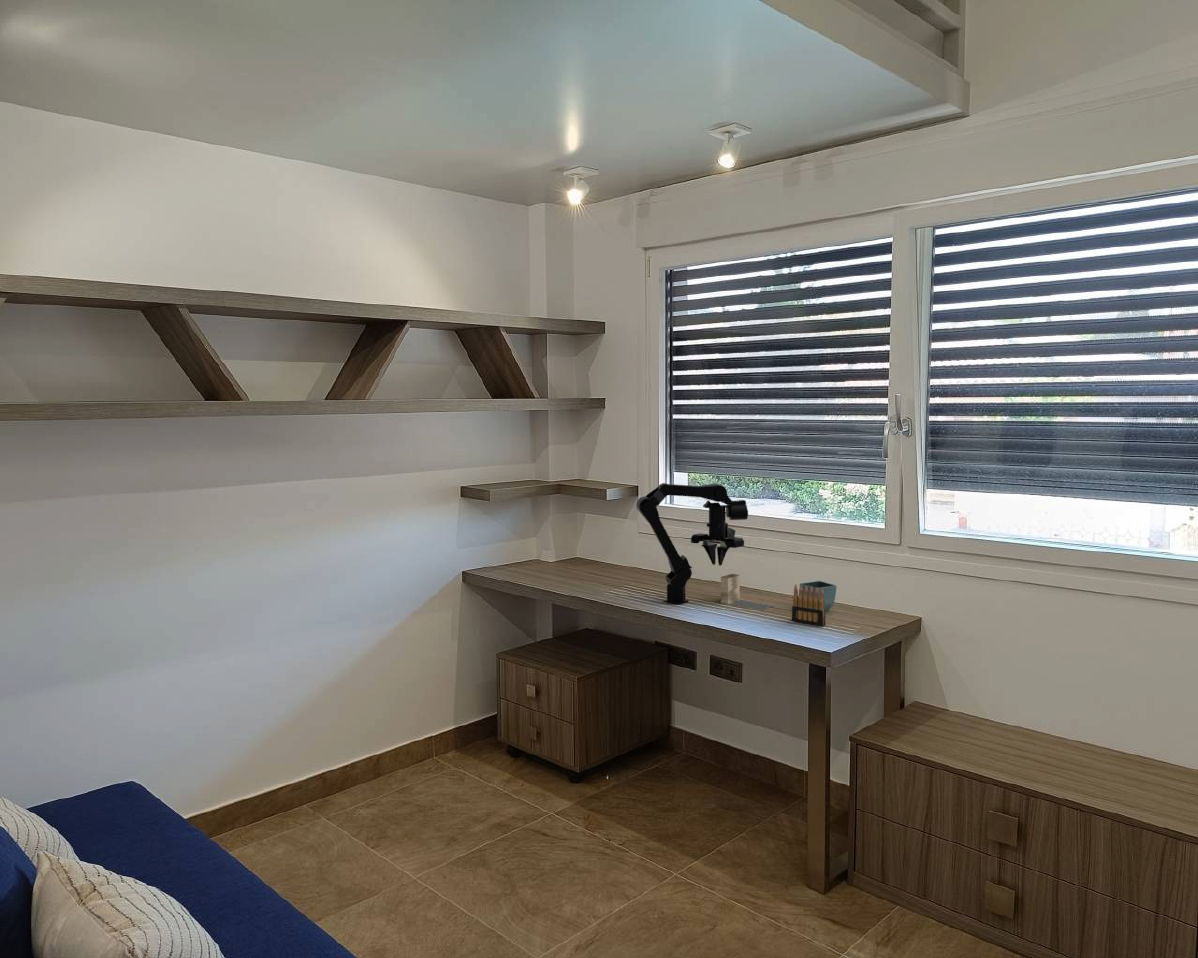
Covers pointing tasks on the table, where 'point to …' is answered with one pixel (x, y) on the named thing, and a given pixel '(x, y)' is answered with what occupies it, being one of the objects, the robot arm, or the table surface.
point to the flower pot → (827, 589)
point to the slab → (730, 588)
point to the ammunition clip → (808, 607)
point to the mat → (749, 605)
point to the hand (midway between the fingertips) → (717, 565)
